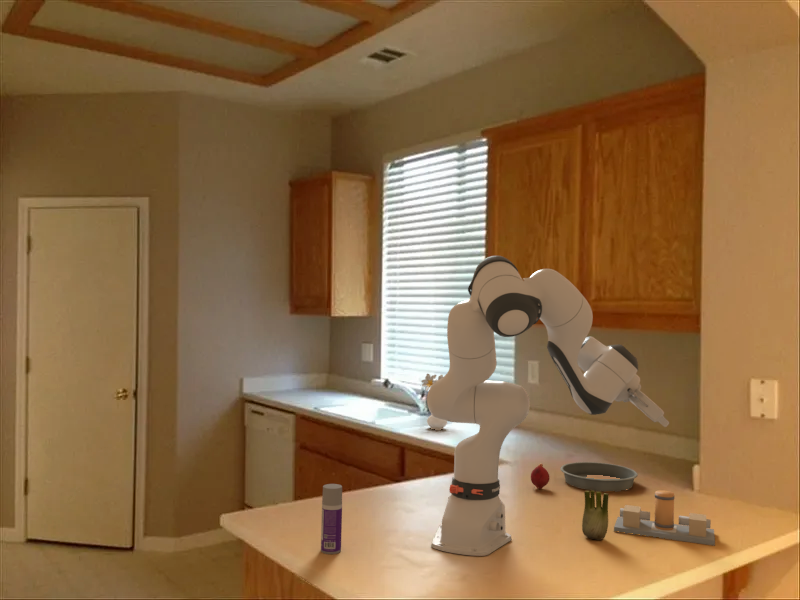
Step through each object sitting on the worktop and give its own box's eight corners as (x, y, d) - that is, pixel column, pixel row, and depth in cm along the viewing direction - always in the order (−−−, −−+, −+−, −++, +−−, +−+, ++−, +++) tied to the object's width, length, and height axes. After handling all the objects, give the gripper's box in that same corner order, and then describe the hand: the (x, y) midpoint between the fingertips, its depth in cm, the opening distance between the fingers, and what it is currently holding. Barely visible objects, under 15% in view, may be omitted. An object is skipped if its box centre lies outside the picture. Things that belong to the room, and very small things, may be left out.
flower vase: (452, 433, 322) (453, 377, 322) (414, 429, 330) (415, 374, 330) (462, 428, 334) (463, 374, 334) (425, 425, 342) (426, 372, 342)
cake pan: (546, 476, 248) (547, 463, 248) (610, 473, 254) (610, 460, 254) (584, 495, 224) (584, 481, 224) (653, 491, 231) (653, 477, 231)
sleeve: (673, 531, 185) (674, 496, 185) (653, 528, 187) (654, 494, 187) (674, 525, 190) (674, 491, 190) (654, 523, 191) (655, 489, 191)
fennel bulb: (609, 540, 181) (611, 492, 181) (597, 543, 178) (599, 495, 178) (590, 533, 186) (591, 487, 186) (578, 537, 183) (579, 489, 183)
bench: (714, 545, 179) (715, 524, 179) (614, 531, 188) (614, 511, 188) (713, 533, 188) (714, 513, 188) (617, 521, 197) (618, 501, 197)
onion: (540, 492, 225) (541, 466, 225) (526, 488, 230) (527, 463, 230) (552, 489, 229) (553, 464, 229) (538, 485, 233) (539, 460, 233)
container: (345, 550, 169) (346, 486, 169) (330, 555, 165) (332, 489, 165) (331, 545, 172) (333, 482, 172) (316, 550, 168) (318, 486, 168)
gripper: (644, 386, 180) (684, 422, 181) (619, 367, 200) (655, 400, 202) (626, 404, 181) (666, 440, 182) (603, 383, 201) (639, 416, 202)
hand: (660, 419), depth 192 cm, fingers open, 8 cm apart
